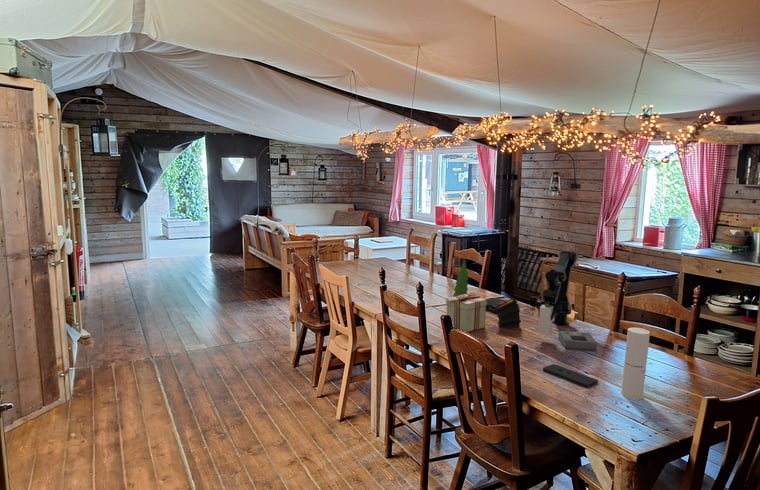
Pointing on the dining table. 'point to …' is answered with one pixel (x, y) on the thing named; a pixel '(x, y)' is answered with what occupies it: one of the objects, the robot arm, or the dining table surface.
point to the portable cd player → (494, 304)
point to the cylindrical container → (635, 363)
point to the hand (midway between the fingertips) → (545, 319)
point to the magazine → (508, 314)
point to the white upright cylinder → (545, 319)
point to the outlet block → (577, 341)
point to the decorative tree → (461, 281)
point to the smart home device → (570, 375)
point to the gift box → (467, 311)
